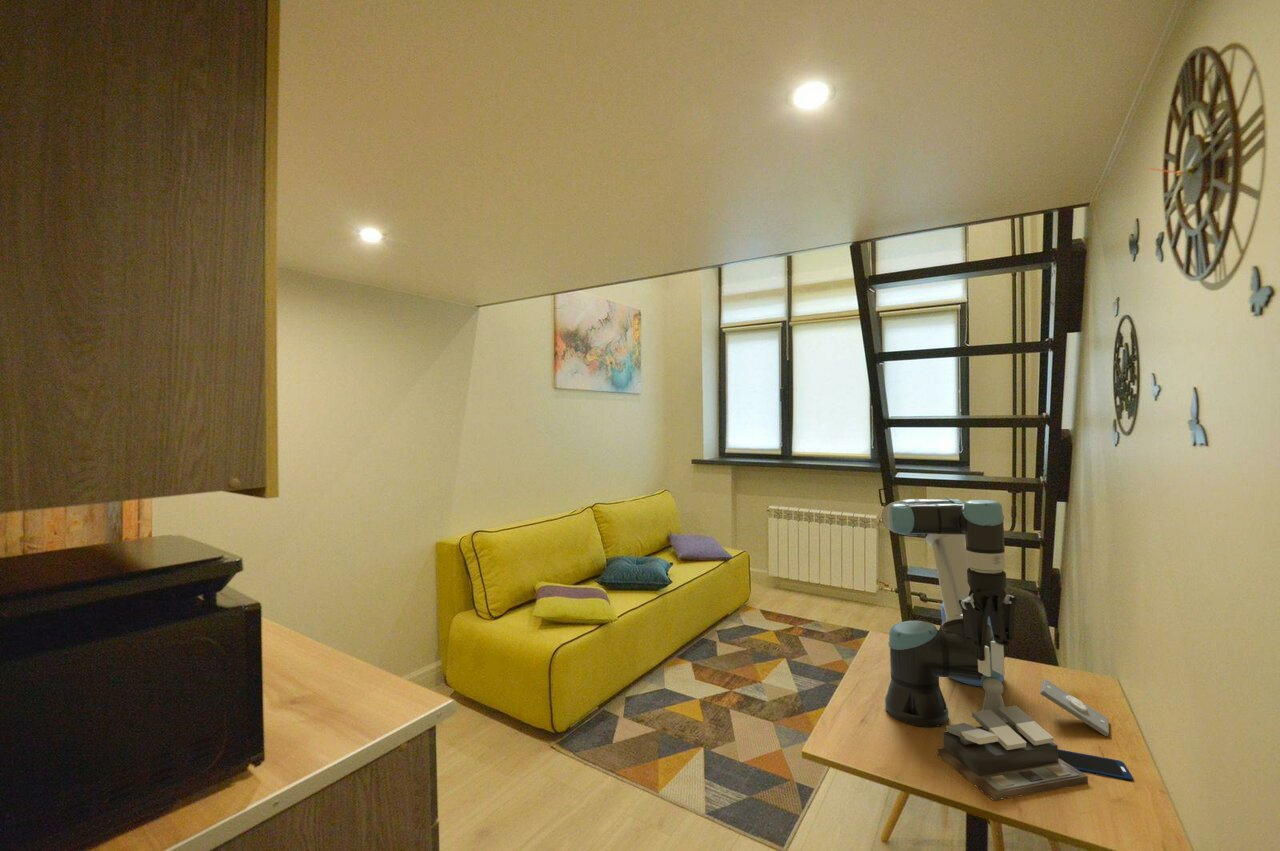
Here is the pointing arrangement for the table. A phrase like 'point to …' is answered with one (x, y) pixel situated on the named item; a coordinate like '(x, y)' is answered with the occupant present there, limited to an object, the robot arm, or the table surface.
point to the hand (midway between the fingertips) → (991, 672)
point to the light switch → (1075, 707)
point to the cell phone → (1096, 765)
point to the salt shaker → (993, 696)
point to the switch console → (1010, 767)
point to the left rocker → (971, 734)
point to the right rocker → (1025, 725)
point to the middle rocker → (999, 729)
